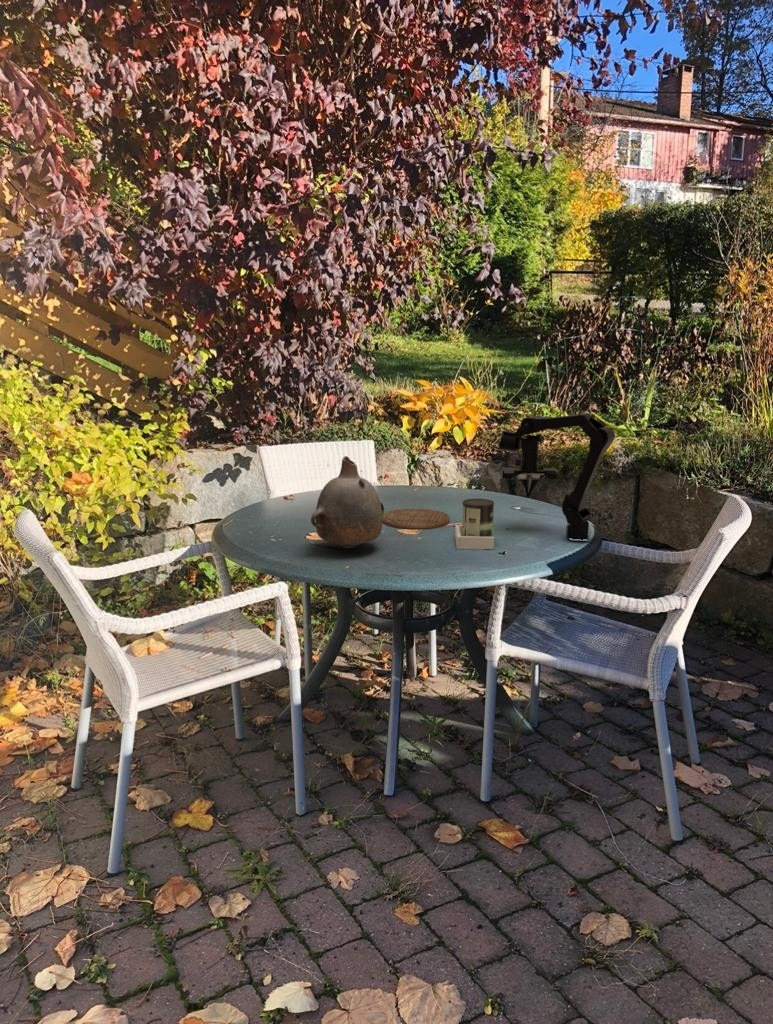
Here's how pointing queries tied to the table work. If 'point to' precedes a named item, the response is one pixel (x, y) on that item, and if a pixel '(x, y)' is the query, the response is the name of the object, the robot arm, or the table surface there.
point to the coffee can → (478, 517)
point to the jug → (348, 509)
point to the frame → (472, 540)
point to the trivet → (415, 519)
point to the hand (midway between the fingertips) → (527, 497)
